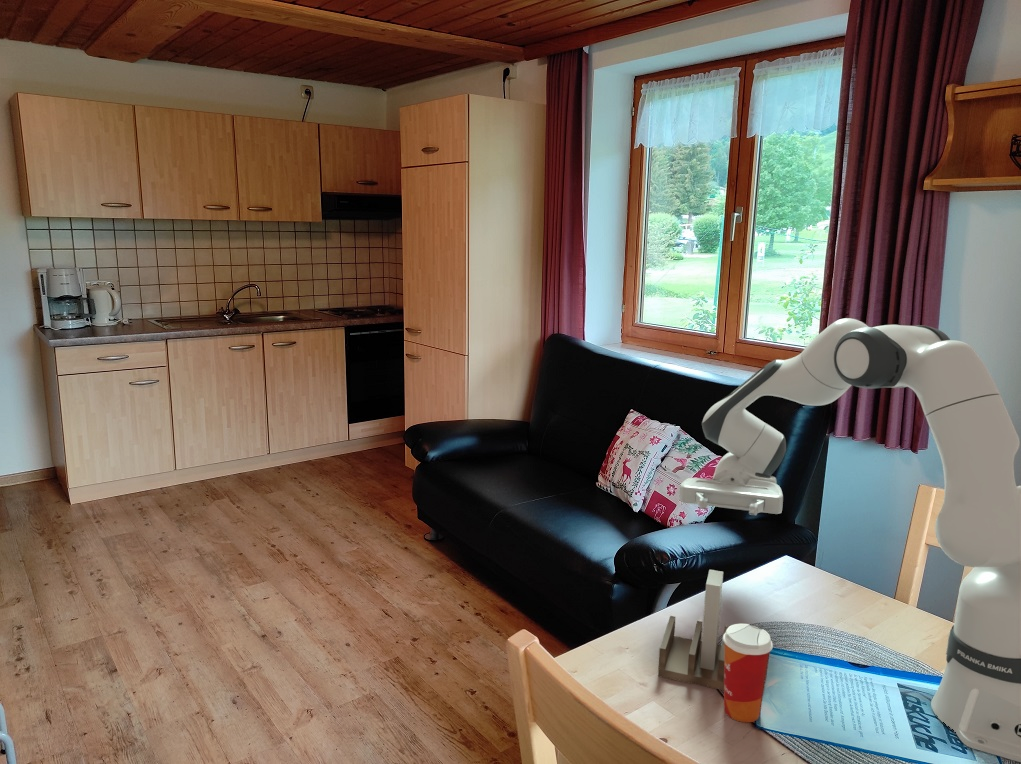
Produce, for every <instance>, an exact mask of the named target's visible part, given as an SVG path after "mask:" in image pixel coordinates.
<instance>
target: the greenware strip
mask: <svg viewBox="0 0 1021 764" xmlns="http://www.w3.org/2000/svg"><path fill="white" fill-rule="evenodd" d="M723 582H724V571H720V570H715V569H709V570H708V574H707V579H706V583H705V591H704V592H705V594H704V595H705V596H704V605H703V606H704V609H703V619H702V620H703V621H702V622H703V623H702V637H701V641H702V649H701V663H700V668H704V669H709V670H714V669H715V663H716V657H717V650H718V644H719V634H720V633H719V632H720V624H721V623H720V622H721V621H720V620H721V608H722V607H721V605H722V595H723V594H722V593H723Z"/></svg>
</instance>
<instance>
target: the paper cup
mask: <svg viewBox="0 0 1021 764" xmlns="http://www.w3.org/2000/svg"><path fill="white" fill-rule="evenodd" d="M722 638H723V641H724V643H725V661H724V690H723V708H724V712H725V714H726V715H727V717H729V718H730V719H732V720H735V721H737V722H740V723H749V724H750V723H753V722H755V721H758V720H759V719H760V718H759V717H760V715H761V710H762V705H763V700H764V699H763V698H764V693H765V685H766V679H767V672H768V667H769V659H770V654H771V651H772V650H773V647H774V643H773V642H772V640H771V639H772V638H771V635H770V634H769V633H768V631H766V630H765V629H764V628H762V629H761V628H760V627H758V626H755V625H750V623H734V624H731V625H730V626H729V627H728V628H727V630H726V632H725V634H724V635H723V634H722Z"/></svg>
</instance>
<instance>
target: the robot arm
mask: <svg viewBox="0 0 1021 764" xmlns="http://www.w3.org/2000/svg"><path fill="white" fill-rule="evenodd" d="M852 386H853V387H856V388H862V389H870V390H871V389H872V390H873V389H882V388H892V389H900V388H909V389H910V390H912V391H913V392H914V393H915V395H916V397H917V398H918V400H919V403H920V406H921V408H922V411H923V414H924V416H925V418H926V422H927V424H928V427H929V429H930V432H931V435H932V438H933V441H934V443H935V445H936V449H937V451H938V453H939V456H940V460H941V466H942V471H943V479H944V481H943V483H944V495H943V496H944V497H943V503H942V506H941V508H940V510H939V513H938V515H937V516H936V519H935V523H934V532H935V538H936V541H937V543H938V546H939V547H940V548H941V549H940V550H942V551H943V553H944V554H945V555H946V556H947V557H948V558H949V559H950V560H952V561H953V562H954V563H956V564H958V565H961V566H964V567H969V568H972V569H971V571H970V572H969V573H968V574H966V576H965V577H964V578H963V580H962V581H961V583H960V585H959V589H958V597H957V602H956V610H955V615H954V616H955V617H954V622H953V623H954V624H953V625H951V629H950V631H949V633H948V635H947V636H948V638H947V642H946V643H947V644H946V650H945V651H946V652H945V655H946V665H945V669H944V672H943V675H942V679H941V680H940V682H939V683H940V684H939V686H938V687H937V690H936V692H935V693H934V695H933V697H932V698H931V701H930V704H931V705H930V706H931V710H932V711H933V713H934V714H935V716H936V715H937V716H938V717H937V716H936V717H937V718H938V719H939V720H940V721H941V722H942V723H943V722H944V723H945V724H946V725H945V724H944V723H943V724H944V725H945V726H947V727H948V726H949V727H950V728H949V727H948V728H949V729H951V730H952V729H953V730H954V731H953V730H952V731H953V732H954V733H955V732H956V733H955V734H956V735H957V738H958V739H959V740H960V741H961V742H962V744H964V745H965V746H966V747H968V748H970V749H974V750H978V751H979V752H980V751H981V752H984V753H988V754H991V755H994V756H998V757H1001V758H1004V759H1008V760H1011V761H1014V762H1018V763H1021V485H1018V486H1017V483H1016V477H1015V468H1014V467H1015V466H1014V465H1015V456H1016V454H1017V452H1018V450H1019V448H1020V437H1019V435H1018V433H1017V431H1016V428H1015V426H1014V424H1013V421H1012V418H1011V417H1010V414H1009V412H1008V409H1007V407H1006V405H1005V403H1004V400H1003V398H1002V395H1001V393H1000V391H999V389H998V386H997V385H996V382H995V381H994V379H993V376H992V375H991V373H990V371H989V369H988V368H987V366H986V365H985V363H984V361H983V360H982V359H981V357H980V356H979V355H978V353H977V352H976V351H975V349H974V348H973V347H972V346H971V345H970V344H969V343H966V342H964V341H961V340H954V339H953V340H952V339H950V337H949V336H948V335H947V334H946V333H945V332H943V331H942V330H940V329H938V328H935V327H933V326H927V325H920V324H917V325H902V324H901V325H899V324H884V325H877V326H873V327H871V326H868V325H867V324H866V323H865V322H863V321H860V320H859V319H857V318H852V317H851V318H849V317H845V318H840V319H838V320H835V321H834V322H832V323H831V324H830V325H828V326H827V327H826V328H825V329H823V330H822V331H821V332H819V334H818V335H816V337H815V338H813V339H812V340H811V341H810V342H809V344H808V345H806V347H805V348H804V349H803V350H802V352H800V353H799V354H798V355H795V356H794V357H790V358H788V359H774V360H772V361H770V362H769V363H766V364H765V365H764V366H763V367H761V368H760V369H759V370H757V371H756V372H755V373H753V375H752V376H750V377H748V378H747V379H746V380H745V381H744V382H743V383H740V385H739V386H738V387H737V388H735V389H734V390H733V391H731V392H730V393H729V394H727V395H726V396H724V397H723V398H721V399H720V400H719V401H717V402H716V403H714V404H713V405H712V406H710V408H709V409H708V410H707V411H706V413H705V414H704V416H703V419H702V421H701V426H702V427H701V428H702V432H703V435H704V437H705V439H707V440H709V441H710V442H712V443H713V444H716V445H718V446H720V447H722V448H723V449H725V450H726V451H727V453H726V454H724V455H723V456H722V458H720V460H719V461H718V463H717V464H716V466H715V470H714V473H713V476H712V478H711V479H710V478H701V477H688V478H686V479H684V480H683V481H682V482H681V484H680V486H679V495H678V496H679V497H678V498H679V501H680V502H681V503H684V504H692V505H697V506H699V507H698V508H699V509H701V510H707V509H708V507H715V508H717V507H718V508H724V509H733V510H741V511H748V515H751V516H757V515H758V514H759V513H766V514H767V513H768V514H771V515H772V514H775V515H778V514H779V515H780V514H782V511H783V504H784V503H783V502H784V494H783V491H782V488H781V487H780V485H778V484H777V477H775V476H773V475H772V474H774V473H775V471H777V469H778V468H779V466H780V465H781V463H782V461H783V459H784V458H785V455H786V452H787V441H786V437H785V435H784V434H783V433H782V432H780V431H778V430H777V429H776V428H774V427H773V426H771V425H770V424H768V423H766V422H764V421H763V420H761V419H760V418H758V417H757V416H755V415H754V414H753V413H751V412H749V411H748V410H747V409H746V408H747V407H749V406H750V405H751V404H752V403H754V402H755V401H756V400H758V399H759V398H761V397H764V396H771V397H772V396H773V397H777V398H783V399H785V400H789V401H792V402H796V403H798V404H799V405H800V404H801V405H805V406H816V407H817V406H826V405H829V404H832V403H833V402H835V401H836V400H838V399H839V398H840V397H842V395H844V394H845V393H846V392H847V391H848V390H849V389H850V388H851V387H852Z"/></svg>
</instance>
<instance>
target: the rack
mask: <svg viewBox="0 0 1021 764" xmlns="http://www.w3.org/2000/svg"><path fill="white" fill-rule="evenodd" d="M665 627H666V628H665V631H664V634H663V637H662V640H661V642H660V643H661V644H660V647H659V655H658V656H659V659H658V675H657V676H658V677H659V678H660V677H661V678H664V679H670V680H673V681H679V682H683V683H689V684H693V685H698V686H702V687H707V688H711V689H716V690H720V691H724V661H725V643H724V641H723V637H722V639H721V644H719V643H718V650H717V657H716V663H715V669H714V670H709V669H704V668H700V663H701V649H702V635H703V621H701V620H697V621H696V624H695V627H694V632H693V636H692V638H688V637H684V636H683V637H682V636H677V635H675V632H676V631H675V630H676V616H674V615H669V618H668V622H667V624H666V626H665ZM728 627H729V626H727V625H724V628H723V633H722V636H723V635H724V634H725V632H726V630H727V628H728Z"/></svg>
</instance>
